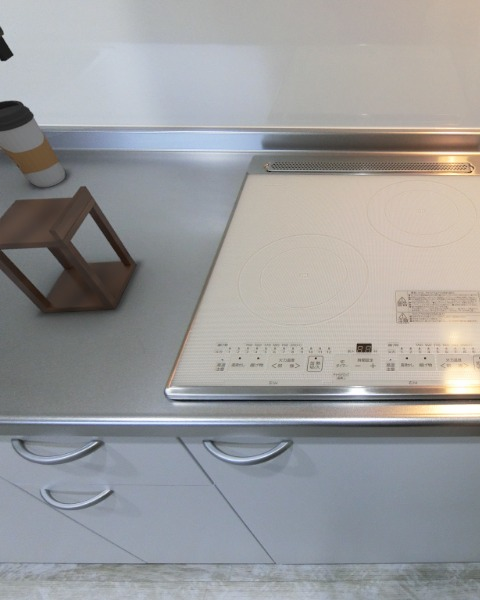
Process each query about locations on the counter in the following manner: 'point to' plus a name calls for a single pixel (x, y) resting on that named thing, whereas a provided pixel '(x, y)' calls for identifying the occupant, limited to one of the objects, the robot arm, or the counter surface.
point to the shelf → (64, 253)
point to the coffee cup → (28, 145)
